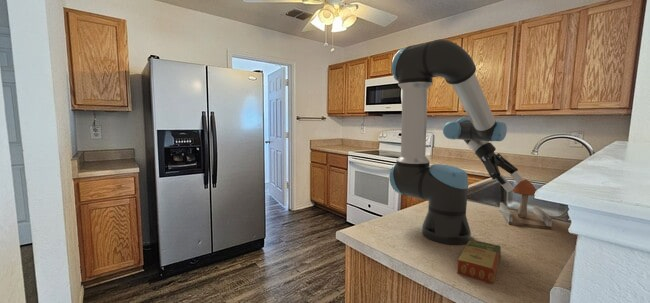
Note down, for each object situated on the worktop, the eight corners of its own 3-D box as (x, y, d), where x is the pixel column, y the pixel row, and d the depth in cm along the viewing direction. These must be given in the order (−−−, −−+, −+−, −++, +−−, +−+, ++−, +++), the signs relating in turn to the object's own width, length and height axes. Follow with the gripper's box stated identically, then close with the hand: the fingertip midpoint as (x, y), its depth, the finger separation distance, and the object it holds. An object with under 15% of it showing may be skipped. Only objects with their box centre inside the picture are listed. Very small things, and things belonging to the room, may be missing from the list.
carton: (456, 274, 72) (456, 258, 71) (468, 251, 85) (468, 237, 84) (493, 285, 67) (494, 268, 66) (500, 259, 80) (501, 244, 79)
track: (508, 224, 105) (509, 214, 104) (499, 211, 120) (500, 202, 119) (551, 229, 100) (552, 218, 100) (535, 215, 115) (536, 205, 115)
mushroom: (529, 214, 113) (533, 178, 111) (539, 221, 105) (543, 182, 104) (507, 213, 115) (510, 176, 113) (515, 219, 107) (518, 180, 106)
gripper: (488, 150, 132) (522, 189, 121) (460, 154, 117) (496, 198, 107) (501, 140, 127) (538, 179, 117) (474, 142, 112) (513, 187, 102)
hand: (518, 188), depth 112 cm, fingers open, 13 cm apart
